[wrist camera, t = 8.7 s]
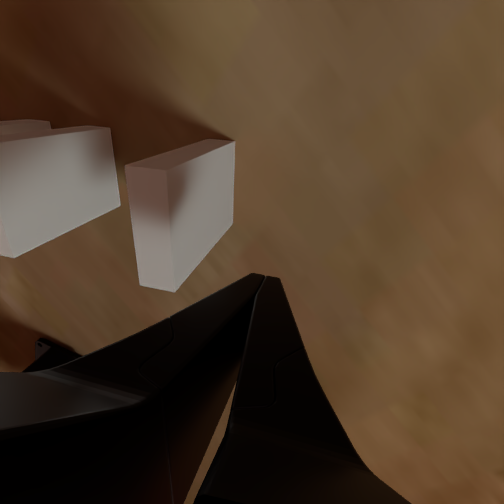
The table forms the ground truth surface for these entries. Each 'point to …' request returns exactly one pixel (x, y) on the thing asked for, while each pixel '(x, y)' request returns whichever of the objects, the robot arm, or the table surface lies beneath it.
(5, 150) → the domino
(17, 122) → the domino
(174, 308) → the table surface
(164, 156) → the domino
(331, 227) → the table surface
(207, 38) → the table surface
